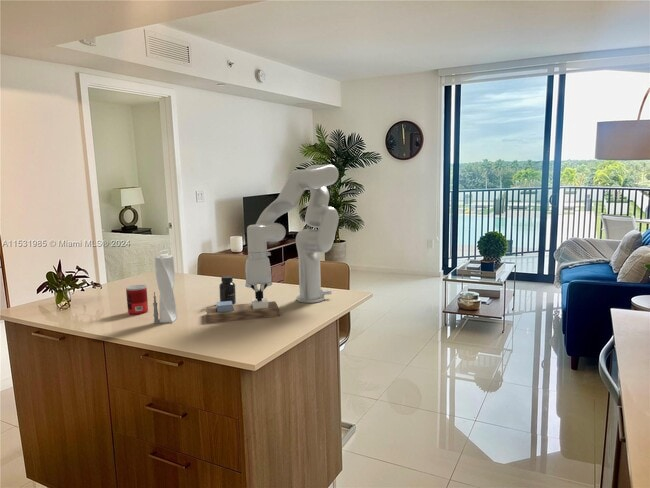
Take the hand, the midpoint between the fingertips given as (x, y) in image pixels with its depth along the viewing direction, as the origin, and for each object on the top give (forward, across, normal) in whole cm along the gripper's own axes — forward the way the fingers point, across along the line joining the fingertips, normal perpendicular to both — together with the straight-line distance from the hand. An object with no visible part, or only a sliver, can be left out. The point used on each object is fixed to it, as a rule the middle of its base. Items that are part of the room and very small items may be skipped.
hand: (259, 300), depth 193 cm
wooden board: (+6, +7, 0) cm, 9 cm away
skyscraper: (+6, +36, -2) cm, 36 cm away
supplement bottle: (+6, +12, -20) cm, 24 cm away
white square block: (+3, 0, 0) cm, 3 cm away
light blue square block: (+3, +14, 0) cm, 14 cm away
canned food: (+6, +49, -18) cm, 52 cm away
